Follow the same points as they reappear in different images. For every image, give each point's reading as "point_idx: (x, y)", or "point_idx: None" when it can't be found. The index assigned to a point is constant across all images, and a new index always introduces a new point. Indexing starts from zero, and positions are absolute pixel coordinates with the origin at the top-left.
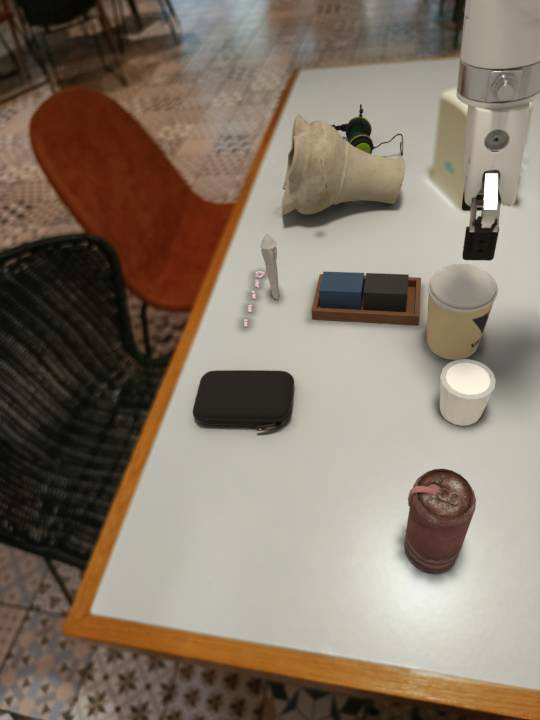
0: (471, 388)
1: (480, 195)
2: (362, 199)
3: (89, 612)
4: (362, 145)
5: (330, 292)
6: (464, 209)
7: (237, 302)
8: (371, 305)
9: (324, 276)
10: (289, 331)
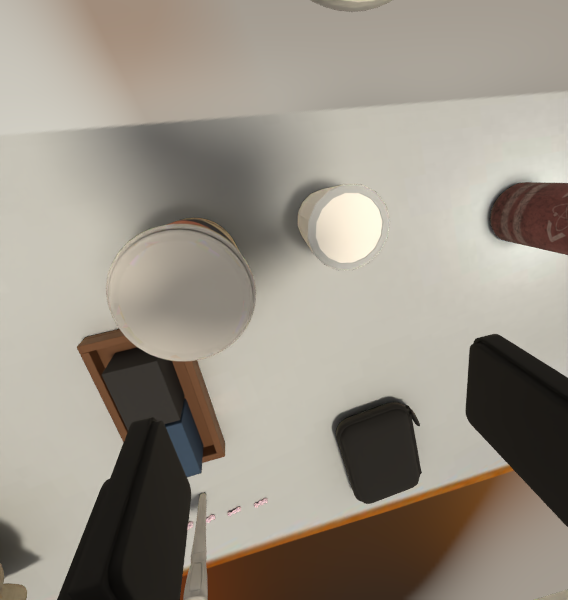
0: (368, 219)
1: (161, 518)
2: None
3: None
4: None
5: (196, 457)
6: (189, 490)
7: (227, 527)
8: (179, 392)
9: None
10: (256, 456)
